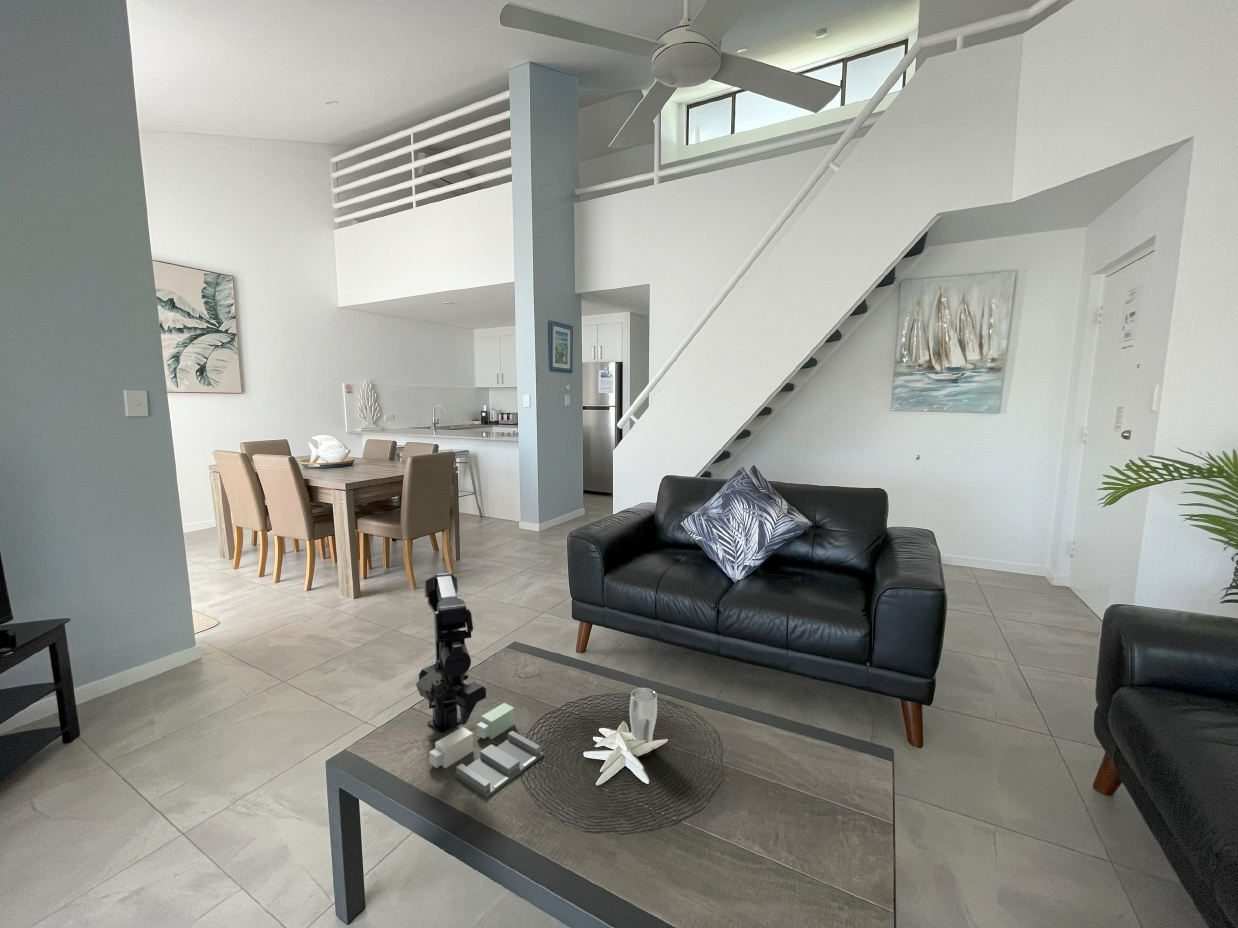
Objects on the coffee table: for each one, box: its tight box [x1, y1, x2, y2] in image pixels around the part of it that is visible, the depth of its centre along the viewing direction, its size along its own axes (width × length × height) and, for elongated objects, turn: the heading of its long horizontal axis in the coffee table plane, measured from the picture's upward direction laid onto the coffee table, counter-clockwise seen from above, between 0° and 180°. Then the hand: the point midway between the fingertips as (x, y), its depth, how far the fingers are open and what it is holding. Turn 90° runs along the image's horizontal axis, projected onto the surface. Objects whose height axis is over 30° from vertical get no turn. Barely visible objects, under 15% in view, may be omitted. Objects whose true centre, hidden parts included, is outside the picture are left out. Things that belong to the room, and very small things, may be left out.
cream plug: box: [428, 726, 474, 769], centre depth 127 cm, size 10×4×5 cm, turn 144°
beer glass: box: [629, 687, 658, 742], centre depth 133 cm, size 7×7×15 cm
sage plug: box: [476, 702, 516, 740], centre depth 139 cm, size 10×4×5 cm, turn 145°
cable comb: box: [454, 730, 545, 799], centre depth 126 cm, size 11×18×2 cm, turn 145°
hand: (451, 716), depth 127 cm, fingers open, 9 cm apart
